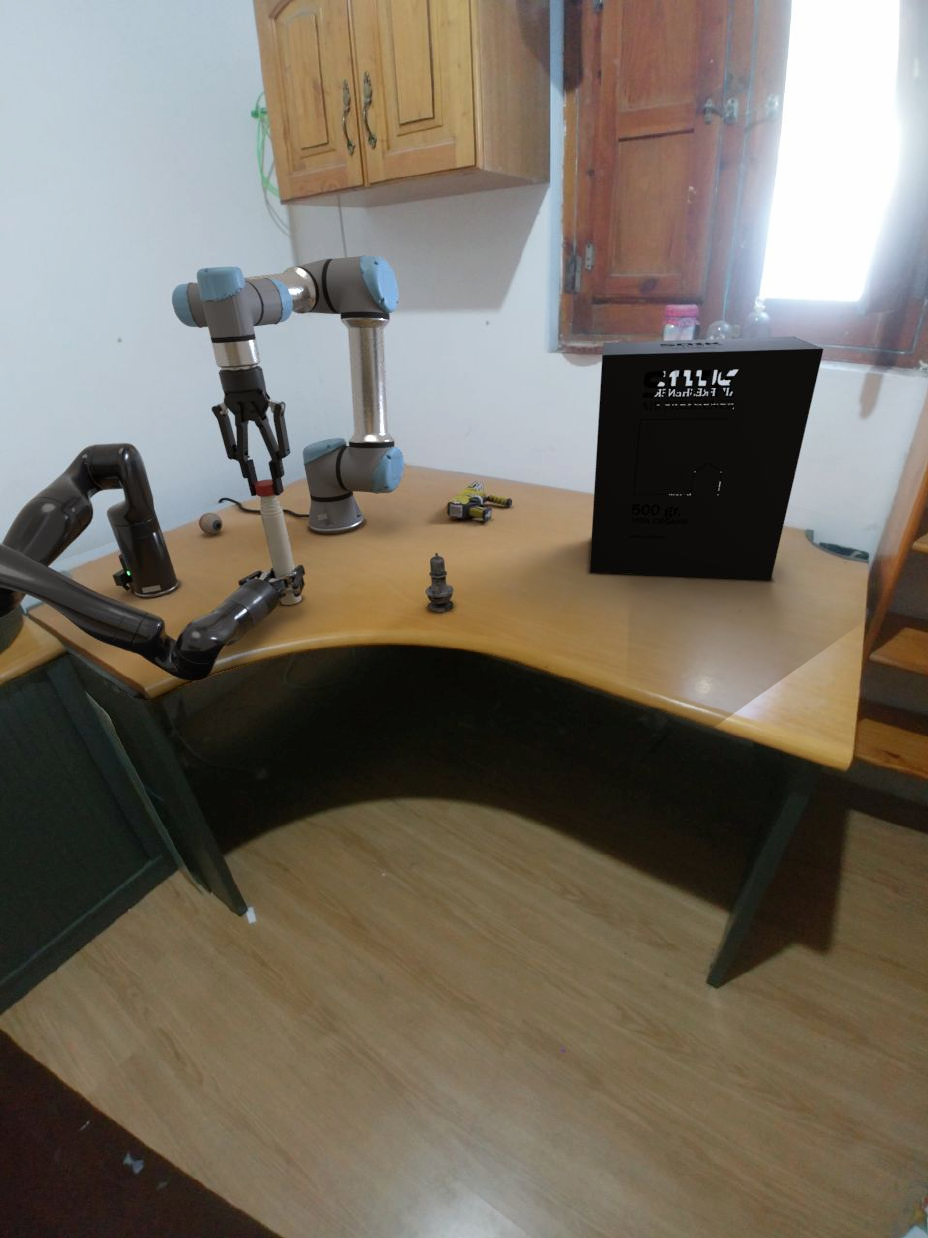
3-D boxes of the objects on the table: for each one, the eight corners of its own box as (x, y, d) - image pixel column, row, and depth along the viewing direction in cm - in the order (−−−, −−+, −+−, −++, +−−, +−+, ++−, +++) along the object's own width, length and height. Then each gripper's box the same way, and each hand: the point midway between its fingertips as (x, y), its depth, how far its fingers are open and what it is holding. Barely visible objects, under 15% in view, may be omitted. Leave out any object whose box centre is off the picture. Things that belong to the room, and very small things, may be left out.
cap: (283, 491, 119) (280, 481, 118) (265, 498, 117) (262, 487, 116) (270, 488, 122) (267, 478, 121) (252, 494, 119) (249, 483, 118)
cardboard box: (751, 542, 144) (793, 336, 122) (770, 580, 127) (823, 348, 105) (591, 537, 152) (603, 342, 130) (589, 572, 135) (602, 354, 112)
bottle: (287, 594, 134) (262, 481, 121) (305, 596, 132) (281, 482, 120) (276, 604, 130) (249, 488, 117) (295, 605, 129) (269, 489, 116)
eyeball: (212, 539, 164) (206, 518, 161) (197, 535, 167) (191, 515, 164) (230, 531, 169) (224, 511, 166) (215, 528, 172) (210, 508, 169)
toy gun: (520, 486, 181) (473, 479, 185) (498, 510, 161) (445, 501, 165) (519, 501, 183) (472, 494, 187) (496, 526, 163) (445, 518, 167)
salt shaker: (451, 613, 122) (447, 559, 116) (423, 611, 123) (418, 558, 117) (457, 599, 127) (454, 547, 121) (430, 598, 128) (425, 546, 122)
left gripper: (221, 619, 120) (266, 581, 134) (286, 625, 116) (324, 585, 130) (211, 585, 116) (258, 550, 130) (278, 591, 113) (318, 553, 127)
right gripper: (293, 361, 110) (315, 486, 122) (203, 365, 112) (234, 488, 123) (278, 367, 103) (303, 498, 115) (183, 371, 105) (217, 500, 117)
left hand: (291, 568), depth 130 cm, fingers closed on bottle, 4 cm apart
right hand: (267, 493), depth 119 cm, fingers closed on cap, 4 cm apart
